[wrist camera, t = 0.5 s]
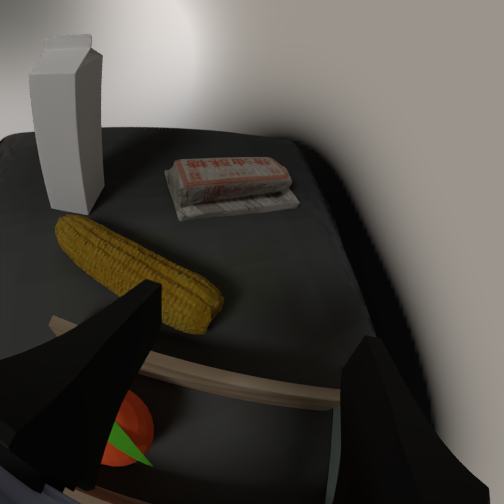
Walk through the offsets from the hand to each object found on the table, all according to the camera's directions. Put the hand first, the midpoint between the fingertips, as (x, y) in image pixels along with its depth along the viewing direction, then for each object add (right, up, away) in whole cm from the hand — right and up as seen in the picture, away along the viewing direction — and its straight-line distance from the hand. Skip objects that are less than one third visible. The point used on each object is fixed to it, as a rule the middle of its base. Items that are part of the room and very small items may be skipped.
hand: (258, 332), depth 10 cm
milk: (-24, +10, +25) cm, 36 cm away
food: (-13, -1, +20) cm, 24 cm away
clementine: (-12, -13, +11) cm, 20 cm away
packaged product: (-3, +11, +34) cm, 36 cm away
